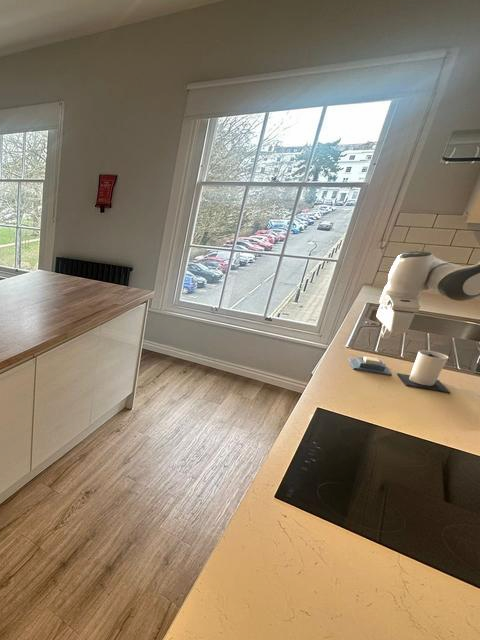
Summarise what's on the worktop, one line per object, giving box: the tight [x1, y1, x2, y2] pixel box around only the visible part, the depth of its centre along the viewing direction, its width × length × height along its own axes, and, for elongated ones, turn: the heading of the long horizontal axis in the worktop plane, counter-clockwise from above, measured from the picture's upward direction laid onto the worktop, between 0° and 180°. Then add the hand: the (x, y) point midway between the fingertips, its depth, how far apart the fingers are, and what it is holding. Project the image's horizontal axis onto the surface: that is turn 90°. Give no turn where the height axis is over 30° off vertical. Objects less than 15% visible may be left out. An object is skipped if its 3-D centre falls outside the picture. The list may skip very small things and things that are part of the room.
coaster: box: [396, 372, 451, 395], centre depth 133 cm, size 10×10×1 cm
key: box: [362, 355, 381, 365], centre depth 144 cm, size 4×4×2 cm
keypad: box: [347, 356, 393, 377], centre depth 145 cm, size 10×10×2 cm
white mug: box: [409, 349, 449, 386], centre depth 132 cm, size 7×7×10 cm
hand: (384, 337), depth 140 cm, fingers closed
